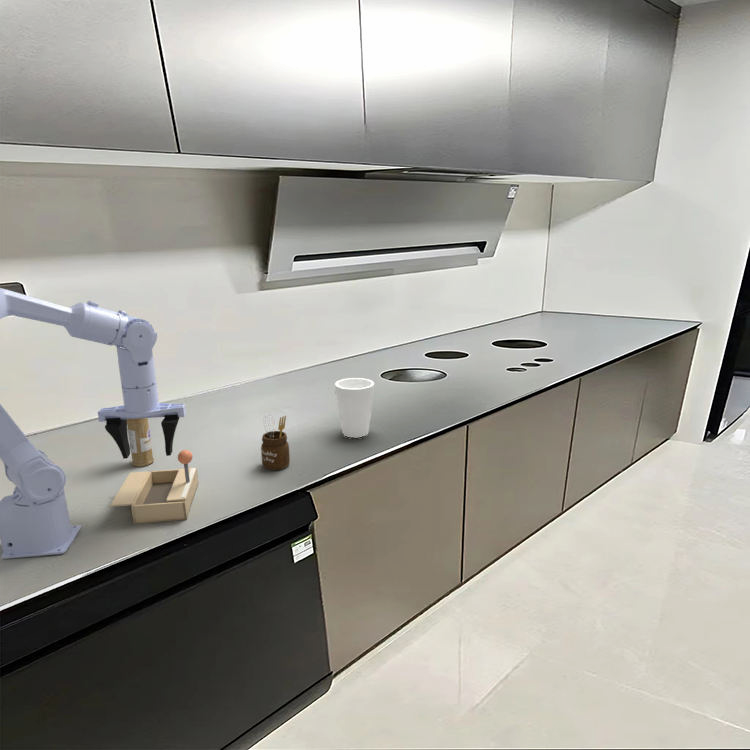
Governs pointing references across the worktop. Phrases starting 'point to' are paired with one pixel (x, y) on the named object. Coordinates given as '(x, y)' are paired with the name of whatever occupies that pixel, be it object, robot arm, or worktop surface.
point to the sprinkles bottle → (140, 441)
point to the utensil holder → (275, 448)
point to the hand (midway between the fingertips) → (148, 454)
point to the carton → (154, 496)
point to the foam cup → (354, 405)
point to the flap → (182, 478)
